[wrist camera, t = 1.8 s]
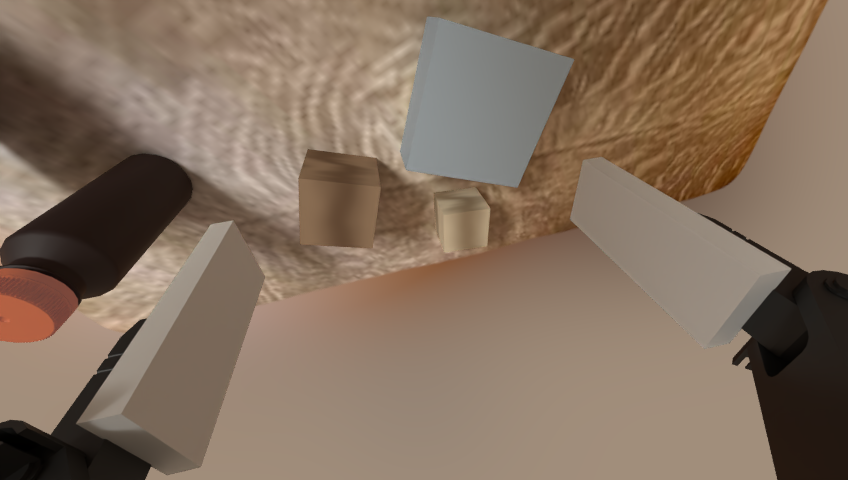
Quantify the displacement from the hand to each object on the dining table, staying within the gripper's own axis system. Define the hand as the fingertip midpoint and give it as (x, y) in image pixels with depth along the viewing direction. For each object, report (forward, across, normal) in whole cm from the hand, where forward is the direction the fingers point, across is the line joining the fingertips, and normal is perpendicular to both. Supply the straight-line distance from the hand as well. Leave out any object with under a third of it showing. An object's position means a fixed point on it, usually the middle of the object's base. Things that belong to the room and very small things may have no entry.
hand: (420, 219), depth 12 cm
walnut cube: (+28, -7, -11) cm, 30 cm away
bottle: (+28, -26, -6) cm, 39 cm away
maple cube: (+28, +8, -17) cm, 34 cm away
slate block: (+28, +10, -3) cm, 30 cm away
